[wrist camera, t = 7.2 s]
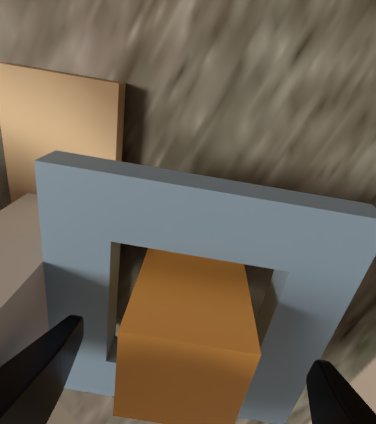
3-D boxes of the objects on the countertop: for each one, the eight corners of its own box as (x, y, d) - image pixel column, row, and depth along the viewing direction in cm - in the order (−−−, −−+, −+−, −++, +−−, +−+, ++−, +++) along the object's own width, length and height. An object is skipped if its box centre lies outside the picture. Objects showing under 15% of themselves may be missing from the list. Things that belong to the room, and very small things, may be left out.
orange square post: (220, 271, 16) (230, 434, 9) (157, 261, 16) (113, 415, 9) (235, 214, 14) (261, 355, 7) (164, 202, 14) (118, 331, 7)
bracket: (265, 336, 16) (309, 543, 9) (38, 298, 16) (-99, 475, 9) (329, 171, 12) (514, 315, 5) (20, 118, 12) (-275, 182, 5)
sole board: (113, 321, 18) (108, 334, 17) (35, 308, 18) (26, 320, 17) (125, 82, 12) (119, 83, 11) (8, 62, 12) (-8, 62, 11)
